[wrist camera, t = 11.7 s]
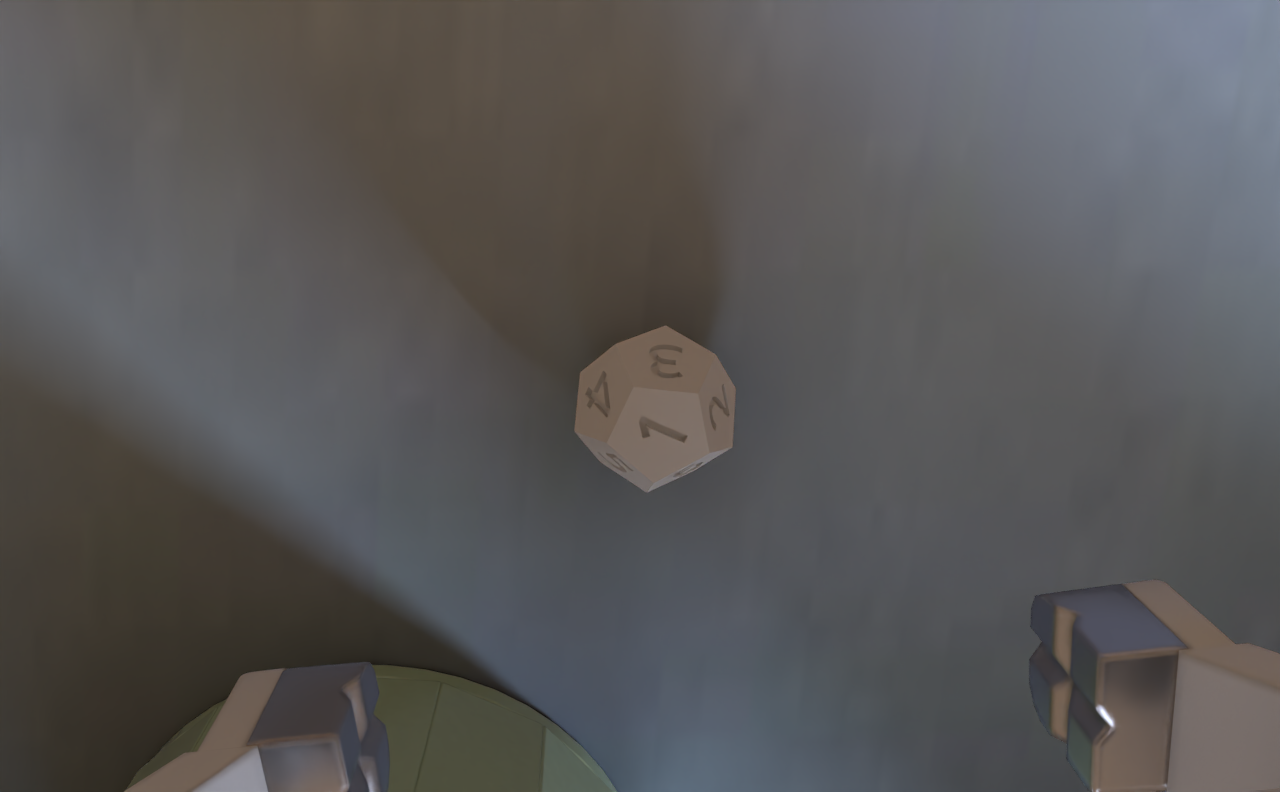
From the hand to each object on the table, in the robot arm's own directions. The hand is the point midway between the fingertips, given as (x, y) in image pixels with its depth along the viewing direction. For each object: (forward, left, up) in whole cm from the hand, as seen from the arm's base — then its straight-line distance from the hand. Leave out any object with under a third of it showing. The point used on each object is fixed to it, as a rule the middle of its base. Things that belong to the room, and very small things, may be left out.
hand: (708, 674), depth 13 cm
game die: (0, 0, -13) cm, 13 cm away
